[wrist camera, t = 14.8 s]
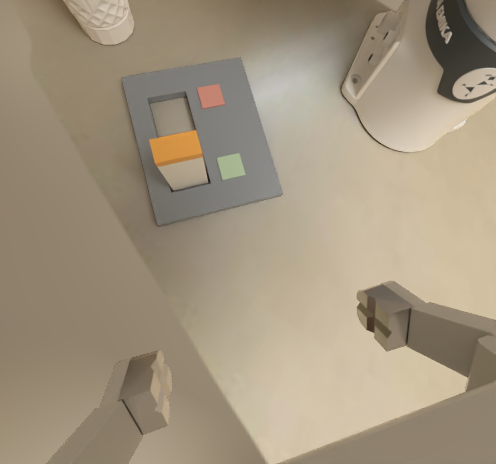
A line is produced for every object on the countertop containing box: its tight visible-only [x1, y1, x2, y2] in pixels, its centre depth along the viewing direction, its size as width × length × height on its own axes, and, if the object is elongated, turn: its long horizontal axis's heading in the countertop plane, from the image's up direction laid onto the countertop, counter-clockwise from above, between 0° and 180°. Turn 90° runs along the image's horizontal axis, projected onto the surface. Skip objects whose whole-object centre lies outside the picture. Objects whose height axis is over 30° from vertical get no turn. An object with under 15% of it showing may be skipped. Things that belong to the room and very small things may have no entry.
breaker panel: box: [121, 57, 283, 227], centre depth 31 cm, size 20×16×1 cm
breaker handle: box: [149, 130, 208, 191], centre depth 26 cm, size 2×4×8 cm, turn 106°
